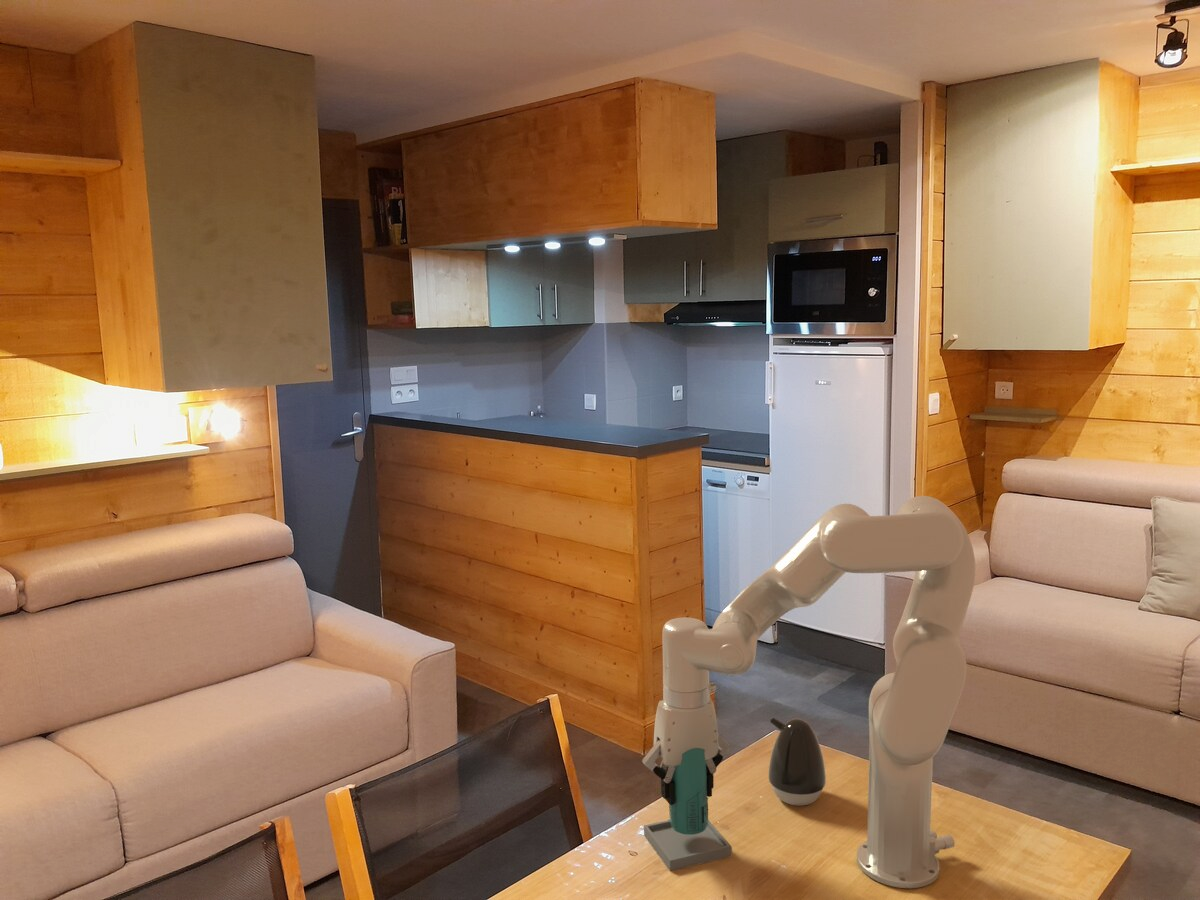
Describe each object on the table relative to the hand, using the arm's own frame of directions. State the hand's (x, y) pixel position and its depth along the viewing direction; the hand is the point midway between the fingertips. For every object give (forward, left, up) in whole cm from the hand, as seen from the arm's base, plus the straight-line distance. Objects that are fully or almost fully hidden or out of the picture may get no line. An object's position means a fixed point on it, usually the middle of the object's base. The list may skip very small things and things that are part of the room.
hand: (687, 796), depth 154 cm
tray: (0, 0, -9) cm, 9 cm away
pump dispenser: (-25, -7, -9) cm, 27 cm away
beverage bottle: (0, 0, -7) cm, 7 cm away
